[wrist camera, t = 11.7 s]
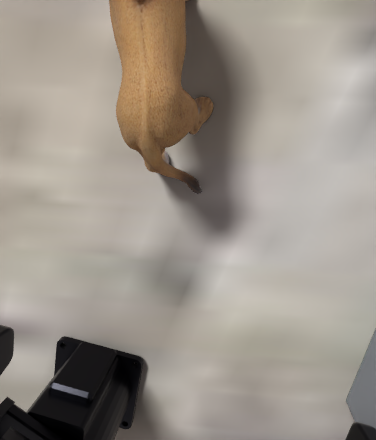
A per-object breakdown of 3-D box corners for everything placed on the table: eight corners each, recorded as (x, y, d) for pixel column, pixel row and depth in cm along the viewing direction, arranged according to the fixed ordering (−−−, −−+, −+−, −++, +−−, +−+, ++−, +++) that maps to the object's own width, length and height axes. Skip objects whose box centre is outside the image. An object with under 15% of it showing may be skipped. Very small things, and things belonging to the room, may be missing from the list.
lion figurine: (85, -63, 16) (-85, -293, 8) (179, -107, 15) (107, -433, 7) (162, 201, 19) (103, 250, 11) (246, 180, 18) (256, 216, 10)
